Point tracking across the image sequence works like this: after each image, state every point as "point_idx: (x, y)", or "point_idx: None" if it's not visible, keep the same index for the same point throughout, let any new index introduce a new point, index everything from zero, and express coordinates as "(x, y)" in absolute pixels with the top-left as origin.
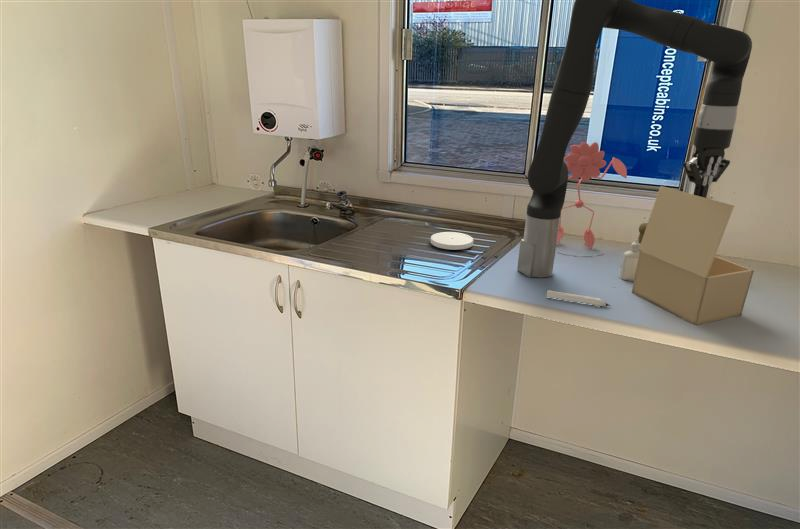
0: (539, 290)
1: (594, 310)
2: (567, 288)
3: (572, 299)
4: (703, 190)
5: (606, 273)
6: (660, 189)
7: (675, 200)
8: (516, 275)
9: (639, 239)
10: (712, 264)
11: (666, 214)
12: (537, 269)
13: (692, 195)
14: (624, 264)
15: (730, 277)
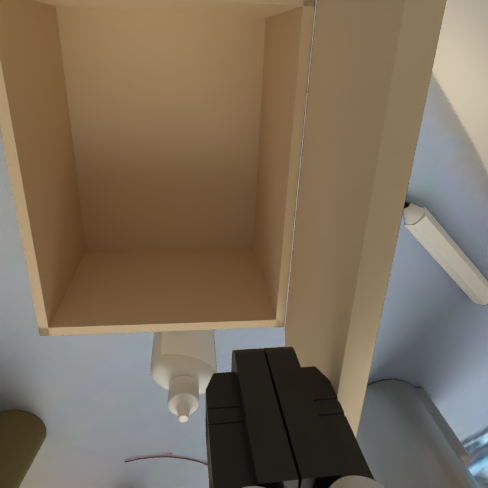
0: (461, 326)
1: (445, 196)
2: (392, 318)
3: (462, 252)
4: (319, 425)
5: (218, 365)
6: None
7: None
8: (436, 403)
9: (19, 483)
10: (36, 179)
11: None
12: (419, 399)
13: (355, 417)
14: (215, 354)
15: None
